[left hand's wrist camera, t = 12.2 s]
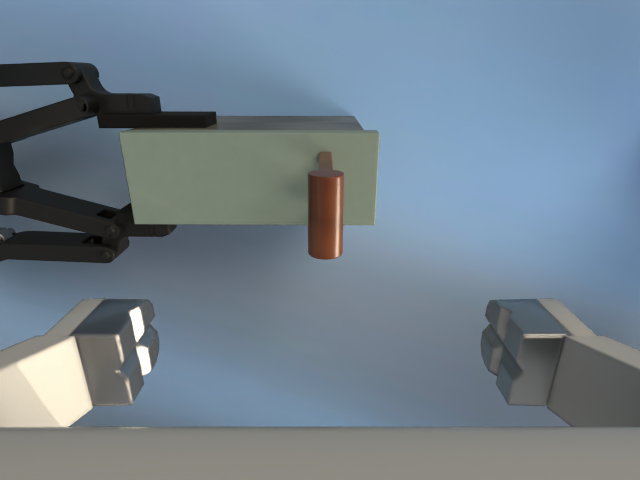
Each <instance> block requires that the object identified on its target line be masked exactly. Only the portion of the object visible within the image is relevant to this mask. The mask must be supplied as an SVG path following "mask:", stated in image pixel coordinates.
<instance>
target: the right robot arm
mask: <svg viewBox="0 0 640 480" xmlns="http://www.w3.org/2000/svg"><path fill="white" fill-rule="evenodd" d="M98 78H99V72H98V70H97V68H96V67H95V66H94V65H92V64H90V63H77V62H49V63H24V64H0V87H8V86H35V85H61V84H68V85H69V87H70V89H71V91H72V92H73V94H74V97H73V98H70V99H67V100H63V101H60V102H57V103H54V104H51V105H48V106H45V107H42V108H38V109H35V110H32V111H29V112H26V113H23V114H20V115H16V116H13V117H10V118H7V119H4V120H1V121H0V214H1V215H19V216H23V217H27V218H31V219H35V220H39V221H43V222H47V223H51V224H55V225H58V226H62V227H66V228H70V229H74V230H78V231H82V232H86V233H71V232H45V231H24V232H19V233H16V232H15V230H14V229H12V228H8V229H7V228H3V227H2V228H0V261H3V260H6V259H16V260H42V261H67V262H93V263H110V262H111V261H113V260H114V259H115V258H116V257H117V256H119V255H120V254H121V253H122V252H123V251H124V250H125V249H127V248H128V246H129V240H128V237H129V236H138V237H148V236H149V237H154V236H155V237H163V236H166V235H168V234H170V233H171V232H172V231H173V230H174V229H175V228H176V227H177V226H176V224H135V223H134V217H133V211H132V206H131V203H130V204H128V205H126V206H125V207H123V208H122V209H116V208H112V207H108V206H105V205H101V204H97V203H93V202H89V201H86V200H82V199H78V198H74V197H70V196H67V195H63V194H59V193H55V192H51V191H48V190H44V189H41V188H39V186H38V185H36V184H32V183H29V182H25V181H21V179H20V175H19V174H18V172H17V170H16V168H15V166H14V164H13V149H12V146H11V143H13V142H16V141H20V140H23V139H26V138H28V137H31V136H34V135H37V134H40V133H44V132H47V131H50V130H53V129H56V128H60V127H63V126H66V125H69V124H72V123H76V122H79V121H82V120H85V119H88V118H92V117H95V116H97V119H98V124H99V128H207V127H209V126H212V125H214V124H216V123H217V119H216V112H161V106H160V99H159V96H156V95H154V94H151V93H110V92H108V91H107V90H105V89H104V88H103V86H102V85H101V83H100V81H99V79H98Z"/></svg>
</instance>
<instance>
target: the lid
mask: <svg viewBox="0 0 640 480" xmlns="http://www.w3.org/2000/svg"><path fill="white" fill-rule="evenodd" d="M379 136H380V134H379V132H378V131H376V130H126V131H123V132H119V137H120V143H121V148H122V154H123V160H124V166H125V171H126V177H127V183H128V188H129V194H130V200H131V206H132V211H133V217H134V223H135V224H224V225H308V253H309V255H310V256H312V257H314V258H317V259H334V258H337V257H339V256H341V255H342V250H343V225H375V211H376V192H377V173H378V154H379Z"/></svg>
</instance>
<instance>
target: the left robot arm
mask: <svg viewBox="0 0 640 480" xmlns="http://www.w3.org/2000/svg"><path fill="white" fill-rule="evenodd" d="M154 317H155V314H154V309H153V304H152V303H151V302H150V301H149V300H141V299H105V298H103V299H83V300H81V301H80V302H79V303H78V304H77V305H76V306H75V307H74V308H73V309H72V310H71V311H69V312H68V313H67V314H66V315H65V316H64V317H63V318H62V319H61V320H60V321H59V322H58V323H57V324H55V325H54V326H53V327H52V328H51V329H50V330H49V331H48V332H47V333H46V334H45V335H44V336H35V337H32V338H30V339H28V340H25V341H23V342H20V343H18V344H15V345H13V346H11V347H8V348H6V349H3V350H1V351H0V480H640V351H639V350H636V349H634V348H632V347H629V346H627V345H624V344H622V343H620V342H617V341H615V340H612V339H610V338H608V337H605V336H596V335H595V334H594V333H593V332H592V331H591V330H590V329H589V328H588V327H587V326H586V325H585V324H583V323H582V322H581V321H580V320H579V319H578V318H577V317H576V316H575V315H574V314H573V313H572V312H571V311H570V310H568V309H567V308H566V307H565V306H564V305H563V304H562V303H561V302H560V301H559V300H556V299H553V298H549V299H511V300H490V301H489V303H488V305H487V308H486V314H485V317H486V318H487V320H488V321H489V323H490V324H489V325H488V327H487V328H486V329H485V330H484V331H483V332H482V338H481V352H482V357H483V361H484V364H485V365H486V367H487V369H488V371H490V372H491V373H493V374H494V375H496V376H497V381H496V385H497V387H498V388H499V390H500V392H501V394H502V395H503V397H504V399H505V400H506V402H507V404H508V405H526V406H547V408H548V409H549V410H551V411H552V412H553V413H554V414H556V415H557V416H558V417H560V418H561V419H562V420H564V421H565V422H566V423H568V424H569V425H570V426H572V427H68V426H70V425H71V424H72V423H74V422H75V421H76V420H78V419H79V418H80V417H82V416H83V415H84V414H86V413H87V412H88V411H90V410H91V409H92V408H93V406H114V405H132V404H133V402H134V400H135V399H136V397H137V395H138V394H139V392H140V390H141V388H142V387H143V385H144V381H143V376H144V375H146V374H147V373H149V372H150V371H152V369H153V367H154V365H155V363H156V361H157V357H158V352H159V337H158V332H157V331H156V330H155V329H154V328H153V327H152V325H151V324H150V323H151V321H152V320H153V318H154Z"/></svg>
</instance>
